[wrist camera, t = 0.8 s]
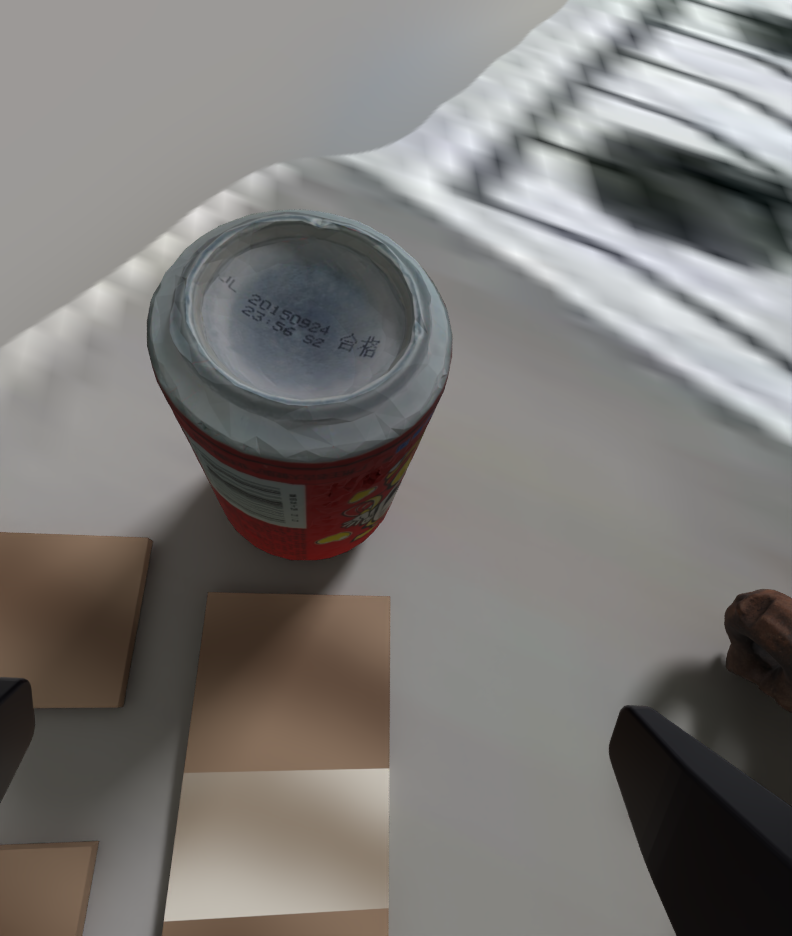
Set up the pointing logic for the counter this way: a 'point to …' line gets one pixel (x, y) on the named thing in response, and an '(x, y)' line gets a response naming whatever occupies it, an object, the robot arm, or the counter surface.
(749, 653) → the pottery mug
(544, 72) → the counter surface
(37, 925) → the lane broken
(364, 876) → the brown wooden board
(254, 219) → the soda can
